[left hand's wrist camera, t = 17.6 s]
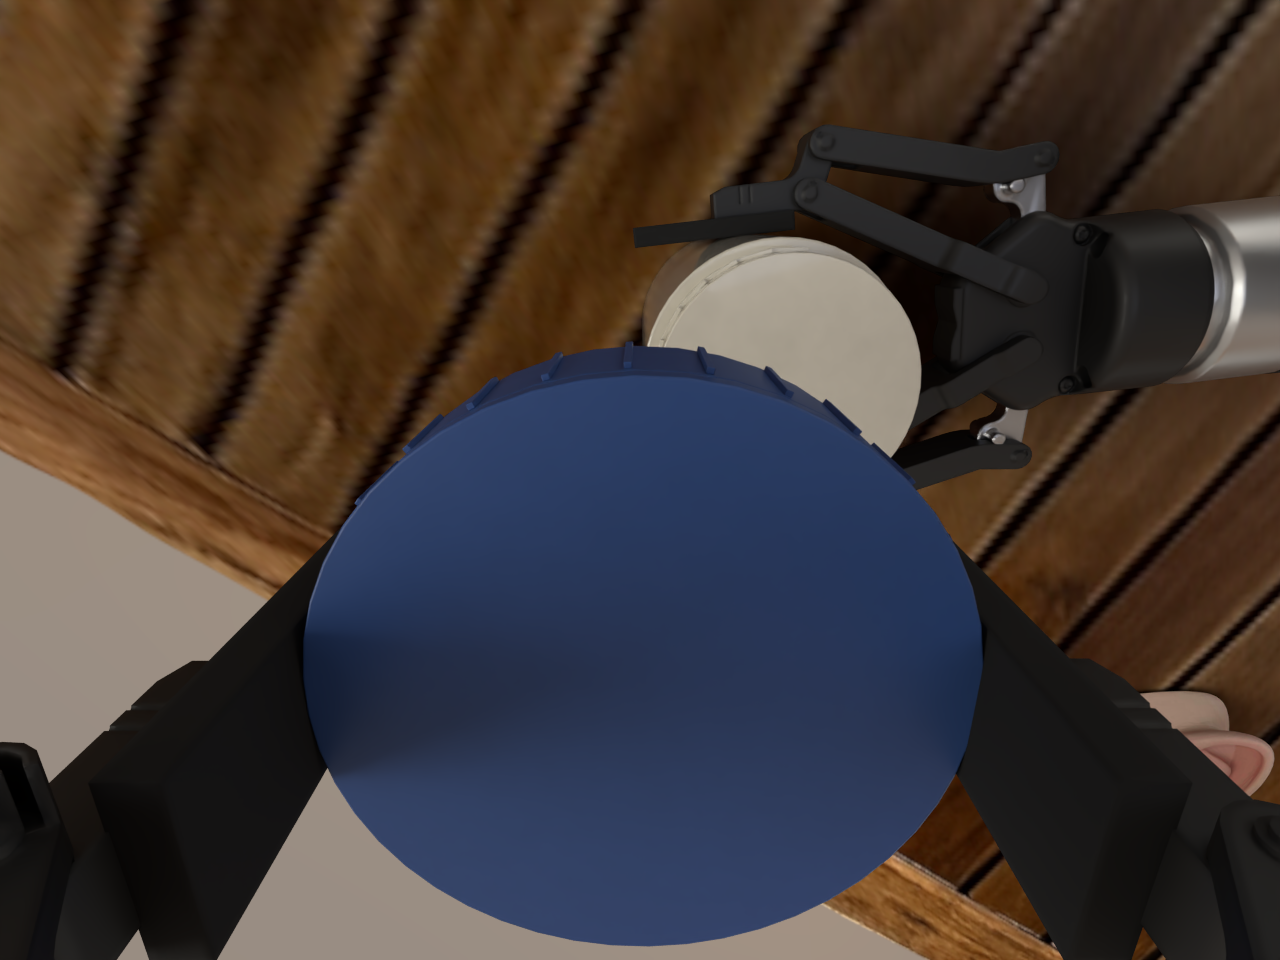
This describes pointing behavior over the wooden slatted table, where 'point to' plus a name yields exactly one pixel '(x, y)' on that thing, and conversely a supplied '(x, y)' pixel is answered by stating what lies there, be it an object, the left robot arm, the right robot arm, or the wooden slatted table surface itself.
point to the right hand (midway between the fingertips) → (646, 355)
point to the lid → (642, 650)
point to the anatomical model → (1216, 735)
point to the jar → (794, 323)
